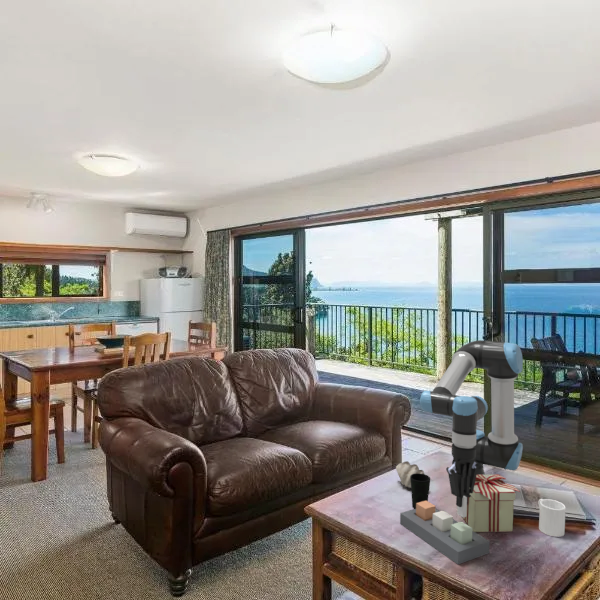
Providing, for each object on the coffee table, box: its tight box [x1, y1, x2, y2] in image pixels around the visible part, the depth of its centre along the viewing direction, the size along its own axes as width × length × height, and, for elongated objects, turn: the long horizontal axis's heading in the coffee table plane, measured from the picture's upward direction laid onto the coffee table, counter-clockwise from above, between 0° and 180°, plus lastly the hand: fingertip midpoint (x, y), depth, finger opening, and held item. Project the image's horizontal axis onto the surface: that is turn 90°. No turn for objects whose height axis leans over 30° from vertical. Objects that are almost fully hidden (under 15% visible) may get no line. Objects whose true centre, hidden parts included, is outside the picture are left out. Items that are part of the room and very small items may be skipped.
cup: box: [410, 473, 431, 509], centre depth 189 cm, size 8×8×12 cm
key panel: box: [399, 508, 491, 565], centre depth 167 cm, size 14×28×4 cm, turn 28°
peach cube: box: [416, 500, 437, 521], centre depth 175 cm, size 5×5×5 cm
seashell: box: [395, 461, 425, 489], centre depth 207 cm, size 10×15×10 cm
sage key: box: [450, 521, 473, 545], centre depth 160 cm, size 5×5×5 cm
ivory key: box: [432, 510, 454, 532], centre depth 167 cm, size 5×5×5 cm
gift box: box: [462, 473, 521, 533], centre depth 177 cm, size 17×18×17 cm
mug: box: [537, 498, 566, 538], centre depth 174 cm, size 8×12×10 cm, turn 7°
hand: (461, 515), depth 159 cm, fingers closed
